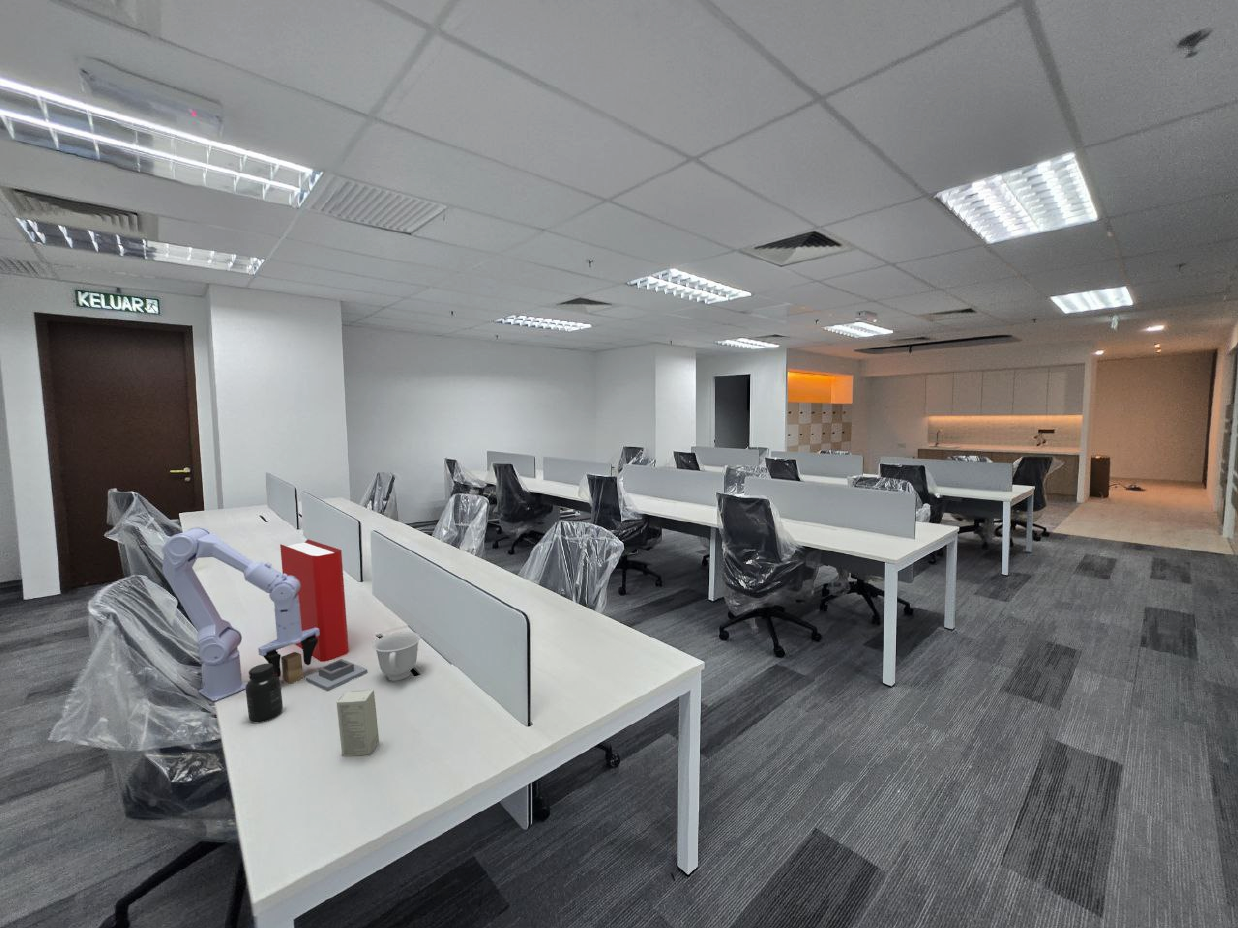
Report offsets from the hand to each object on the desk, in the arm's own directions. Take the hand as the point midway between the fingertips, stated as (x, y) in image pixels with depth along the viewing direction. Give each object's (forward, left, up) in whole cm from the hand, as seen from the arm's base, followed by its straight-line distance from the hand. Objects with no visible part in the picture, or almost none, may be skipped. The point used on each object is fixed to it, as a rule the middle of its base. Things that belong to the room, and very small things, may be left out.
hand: (292, 669), depth 137 cm
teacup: (+25, +15, -3) cm, 29 cm away
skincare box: (+45, -8, -3) cm, 46 cm away
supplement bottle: (+12, -12, -3) cm, 18 cm away
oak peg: (0, 0, -3) cm, 3 cm away
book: (-16, +15, -3) cm, 22 cm away
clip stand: (+9, +7, -3) cm, 12 cm away
